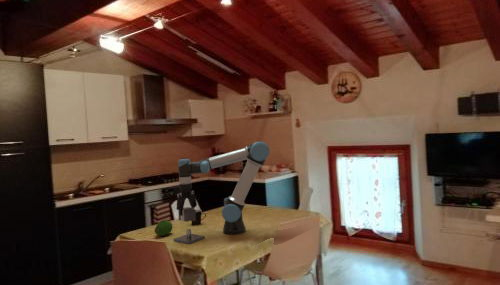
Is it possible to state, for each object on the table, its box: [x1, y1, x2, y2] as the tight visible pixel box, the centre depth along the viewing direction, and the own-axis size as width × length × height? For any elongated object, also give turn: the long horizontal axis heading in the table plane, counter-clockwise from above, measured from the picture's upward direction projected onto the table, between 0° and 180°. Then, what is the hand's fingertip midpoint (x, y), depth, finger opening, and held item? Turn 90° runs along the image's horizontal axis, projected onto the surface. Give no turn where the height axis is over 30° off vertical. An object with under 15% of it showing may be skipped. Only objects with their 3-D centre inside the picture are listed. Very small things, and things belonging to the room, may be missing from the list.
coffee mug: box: [190, 209, 207, 226], centre depth 280 cm, size 12×9×10 cm
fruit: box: [154, 219, 173, 236], centre depth 254 cm, size 15×10×10 cm, turn 157°
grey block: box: [178, 206, 197, 223], centre depth 241 cm, size 8×8×7 cm
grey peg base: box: [172, 228, 206, 245], centre depth 241 cm, size 14×14×6 cm
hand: (187, 219), depth 241 cm, fingers closed on grey block, 8 cm apart
